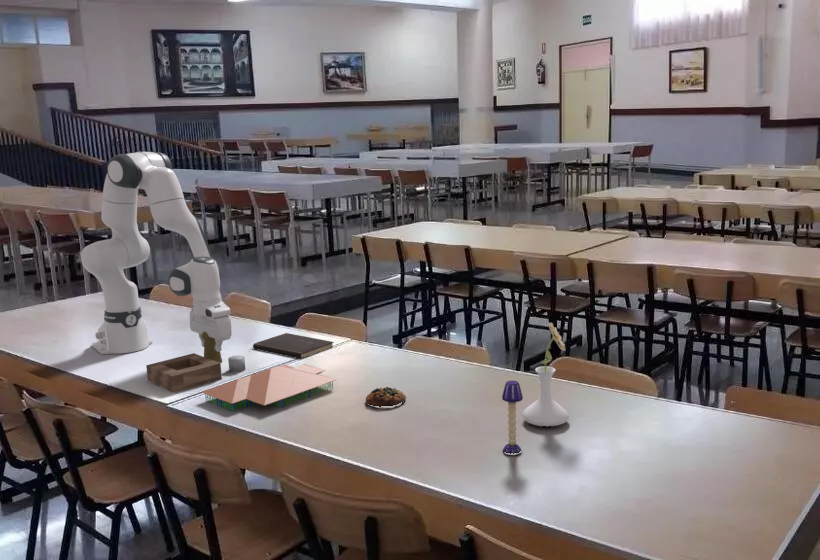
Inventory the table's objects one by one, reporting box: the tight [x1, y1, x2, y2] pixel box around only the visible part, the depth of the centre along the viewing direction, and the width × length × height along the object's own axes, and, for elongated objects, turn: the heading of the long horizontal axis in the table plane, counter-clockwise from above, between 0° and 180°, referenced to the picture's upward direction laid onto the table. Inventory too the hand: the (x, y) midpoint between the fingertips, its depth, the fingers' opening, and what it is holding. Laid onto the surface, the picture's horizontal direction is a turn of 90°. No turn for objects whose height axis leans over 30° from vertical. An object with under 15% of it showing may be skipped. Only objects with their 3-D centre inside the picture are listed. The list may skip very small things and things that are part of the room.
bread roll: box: [365, 386, 407, 407], centre depth 213 cm, size 11×11×5 cm
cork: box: [202, 332, 223, 364], centre depth 253 cm, size 6×6×11 cm
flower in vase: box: [521, 322, 570, 428], centre depth 194 cm, size 13×11×25 cm
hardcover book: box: [252, 332, 335, 359], centre depth 268 cm, size 16×23×2 cm
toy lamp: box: [501, 380, 523, 454], centre depth 177 cm, size 5×5×17 cm
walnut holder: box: [146, 352, 223, 393], centre depth 237 cm, size 16×16×5 cm
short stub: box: [227, 354, 246, 373], centre depth 246 cm, size 5×5×4 cm
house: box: [200, 363, 338, 413], centre depth 222 cm, size 23×33×8 cm
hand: (211, 348), depth 254 cm, fingers open, 6 cm apart
